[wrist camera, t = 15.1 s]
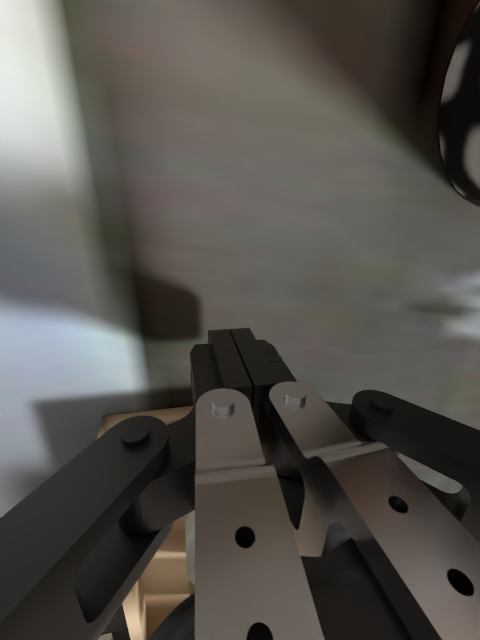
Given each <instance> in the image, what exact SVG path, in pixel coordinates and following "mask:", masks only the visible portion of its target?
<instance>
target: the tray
mask: <svg viewBox="0 0 480 640" xmlns="http://www.w3.org/2000/svg"><path fill="white" fill-rule="evenodd" d="M193 407H194V406H187V407H178V408H170V409H161V410H152V411H143V412H134V413H125V414H116V415H107V416H103V419H102V423H101V426H100V429H99V433H98V436H97V439H98V438H99V437H101V436H102V435H103V434H104V433H105V432H107V431H108V430H109V429H110V428H112V427H113V426H114V425H116V424H117V423H119V422H121V421H123V420H125V419H127V418H131V417H135V416H153V417H156V418H158V419H160V420H162V421H163V422H164V423H165V424H166V425H168V424H170V423H173V422H175V421H178V420H180V419H182V418H183V417H185V416H186V415H187V414H189V413H190V412H191V410H192V409H193ZM194 592H195V510H194V511H192V512H190V513H188V514H186V515H184V516H183V517H181V518H179V519H177V520H175V521H174V524H173V527H172V529H171V531H170V533H169V534H168V536H167V537H166V539H165V540H164V542H163V543H162V545H161V546H160V548H159V549H158V551H157V552H156V554H155V555H154V557H153V558H152V560H151V561H150V563H149V564H148V566H147V567H146V569H145V570H144V572H143V573H142V575H141V576H140V578H139V579H138V580H137V582H136V583H135V585H134V586H133V588H132V589H131V591H130V592H129V594H128V595H127V597H126V598H125V600H124V601H123V603H122V605H123V609H124V614H125V618H126V622H127V626H128V631H129V635H130V639H131V640H149V639H150V637H151V635H152V634H153V633H154V632H155V630H156V629H157V628H158V627H159V625H160V624H161V623H162V622H163V620H164V619H165V618H166V617H167V616H168V615H169V614H170V613H171V612H172V611H173V610H174V609H175V608H176V607H177V606H178V605H179V604H180V603H181V602H182V601H184V600H185V599H186V598H187V597H189V596H190V595H191V594H192V593H194Z"/></svg>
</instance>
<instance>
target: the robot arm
mask: <svg viewBox="0 0 480 640" xmlns="http://www.w3.org/2000/svg"><path fill="white" fill-rule="evenodd" d="M190 362H191V387H192V397H193V406H194V407H193V409H192V410H191V412H190V413H189V414H187V415H186V416H185V417H183V418H182V419H180V420H178V421H175V422H173V423H170V424H168V425H166V424H165V423H164V422H163V421H162V420H160V419H158V418H156V417H153V416H135V417H131V418H127V419H125V420H123V421H121V422H119V423H117V424H116V425H114V426H113V427H112V428H110V429H109V430H108V431H107V432H105V433H104V434H103V435H102V436H101V437H99V438H98V439H97V440H96V441H94V442H93V443H92V444H91V445H89V446H88V447H87V448H86V449H85V450H83V451H82V452H81V453H80V454H78V455H77V456H76V457H75V458H74V459H72V460H71V461H70V462H69V463H67V464H66V465H65V466H64V467H63V468H61V469H60V470H59V471H58V472H56V473H55V474H54V475H53V476H51V477H50V478H49V479H48V480H47V481H45V482H44V483H43V484H42V485H40V486H39V487H38V488H37V489H36V490H34V491H33V492H32V493H31V494H29V495H28V496H27V497H26V498H25V499H23V500H22V501H21V502H20V503H18V504H17V505H16V506H15V507H13V508H12V509H11V510H10V511H9V512H7V513H6V514H5V515H4V516H2V517H1V518H0V640H98V639H99V637H100V636H101V634H102V633H103V631H104V630H105V628H106V627H107V625H108V624H109V622H110V621H111V619H112V618H113V616H114V615H115V613H116V612H117V610H118V609H119V607H120V606H121V604H122V603H123V601H124V600H125V598H126V597H127V595H128V594H129V592H130V591H131V589H132V588H133V586H134V585H135V583H136V582H137V580H138V579H139V578H140V576H141V575H142V573H143V572H144V570H145V569H146V567H147V566H148V564H149V563H150V561H151V560H152V558H153V557H154V555H155V554H156V552H157V551H158V549H159V548H160V546H161V545H162V543H163V542H164V540H165V539H166V537H167V536H168V534H169V533H170V531H171V529H172V527H173V524H174V521H175V520H177V519H179V518H181V517H183V516H184V515H186V514H188V513H190V512H192V511H194V510H195V592H194V593H192V594H191V595H190V596H189V597H187V598H186V599H185V600H184V601H182V602H181V603H180V604H179V605H178V606H177V607H176V608H175V609H174V610H173V611H172V612H171V613H170V614H169V615H168V616H167V617H166V618H165V619H164V620H163V622H162V623H161V624H160V625H159V627H158V628H157V629H156V630H155V632H154V633H153V634H152V635H151V637H150V639H149V640H480V430H477V429H475V428H472V427H470V426H467V425H465V424H462V423H460V422H457V421H455V420H452V419H450V418H447V417H445V416H442V415H440V414H437V413H435V412H432V411H430V410H427V409H425V408H422V407H420V406H417V405H415V404H412V403H410V402H407V401H405V400H402V399H400V398H397V397H395V396H392V395H390V394H387V393H384V392H381V391H376V390H363V391H360V392H358V393H356V394H355V395H354V397H353V401H352V405H351V404H342V403H333V402H326V401H325V400H324V399H323V398H322V397H321V396H320V395H319V393H318V392H317V391H316V390H314V389H313V388H312V387H310V386H308V385H306V384H303V383H299V382H297V381H296V379H295V378H294V376H293V375H292V373H291V372H290V370H289V369H288V367H287V366H286V364H285V363H284V362H283V360H282V358H281V357H280V355H279V354H278V352H277V350H276V349H275V347H274V346H273V345H271V344H270V343H268V342H267V341H265V340H256V339H255V337H254V335H253V334H252V332H251V330H250V328H238V329H223V330H209V331H208V344H197V345H195V346H194V347H193V349H192V350H191V352H190ZM399 453H401V454H403V455H405V456H407V457H409V458H411V459H413V460H415V461H417V462H419V463H421V464H423V465H425V466H427V467H429V468H431V469H433V470H435V471H437V472H439V473H441V474H443V475H445V476H447V477H449V478H451V479H453V480H455V481H457V482H459V483H460V484H462V485H463V486H462V489H461V490H460V491H459V492H458V493H454V494H450V493H445V492H443V491H441V490H439V489H437V488H435V487H433V486H431V485H429V484H427V483H425V482H424V481H422V480H420V479H419V478H418V477H417V476H416V475H415V474H414V473H413V472H412V471H411V470H410V469H409V468H408V467H407V466H406V465H405V464H404V463H403V461H402V460H401V459H400V458H399V457H398V454H399Z"/></svg>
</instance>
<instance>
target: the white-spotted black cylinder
mask: <svg viewBox="0 0 480 640" xmlns="http://www.w3.org/2000/svg"><path fill="white" fill-rule="evenodd" d="M439 137H440V148H441V155H442V158H443V162H444V165H445V169H446V172H447V174H448V176H449V178H450V180H451V181H452V183H453V185H454V187H455V188H456V189H457V190H458V192H459V193H460V194H461V195H462V196H463V197H464V198H465V199H466V200H468V201H470V202H472V203H474V204H475V205H477V206H480V2H479V4H478V5H477V7H476V8H475V10H474V11H473V13H472V14H471V16H470V18H469V20H468V22H467V24H466V26H465V28H464V31H463V33H462V35H461V37H460V39H459V41H458V43H457V45H456V48H455V51H454V54H453V57H452V60H451V62H450V65H449V68H448V71H447V74H446V79H445V84H444V89H443V94H442V98H441V103H440V119H439Z"/></svg>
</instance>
